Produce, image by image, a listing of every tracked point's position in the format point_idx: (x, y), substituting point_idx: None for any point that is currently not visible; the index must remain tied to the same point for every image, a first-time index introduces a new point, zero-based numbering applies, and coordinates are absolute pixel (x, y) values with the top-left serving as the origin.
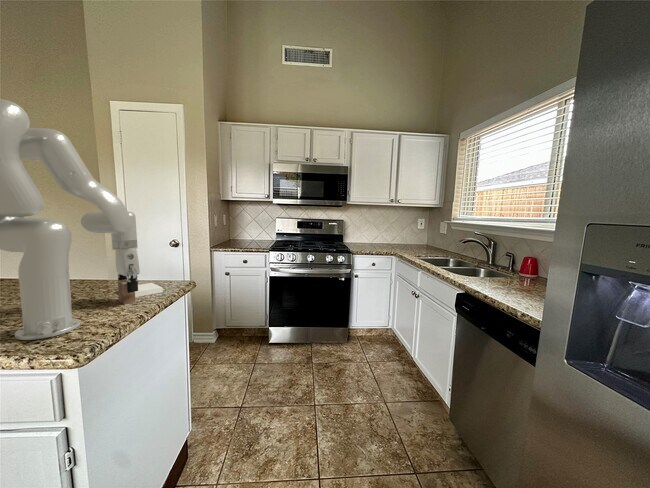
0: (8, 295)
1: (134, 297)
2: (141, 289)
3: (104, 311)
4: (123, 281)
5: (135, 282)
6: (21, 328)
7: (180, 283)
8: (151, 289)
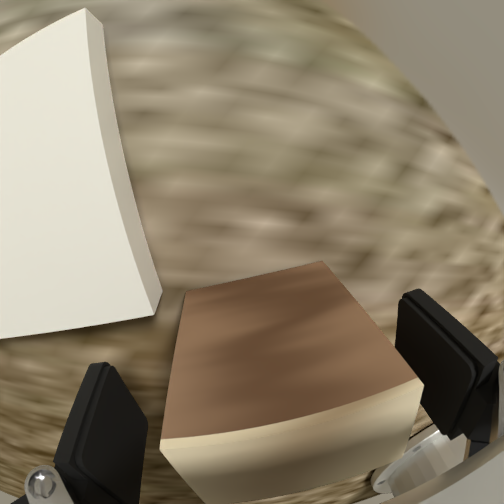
0: (12, 494)
1: (338, 284)
2: (47, 204)
3: None
4: (300, 479)
5: (496, 364)
6: (391, 492)
7: None
8: (95, 106)
